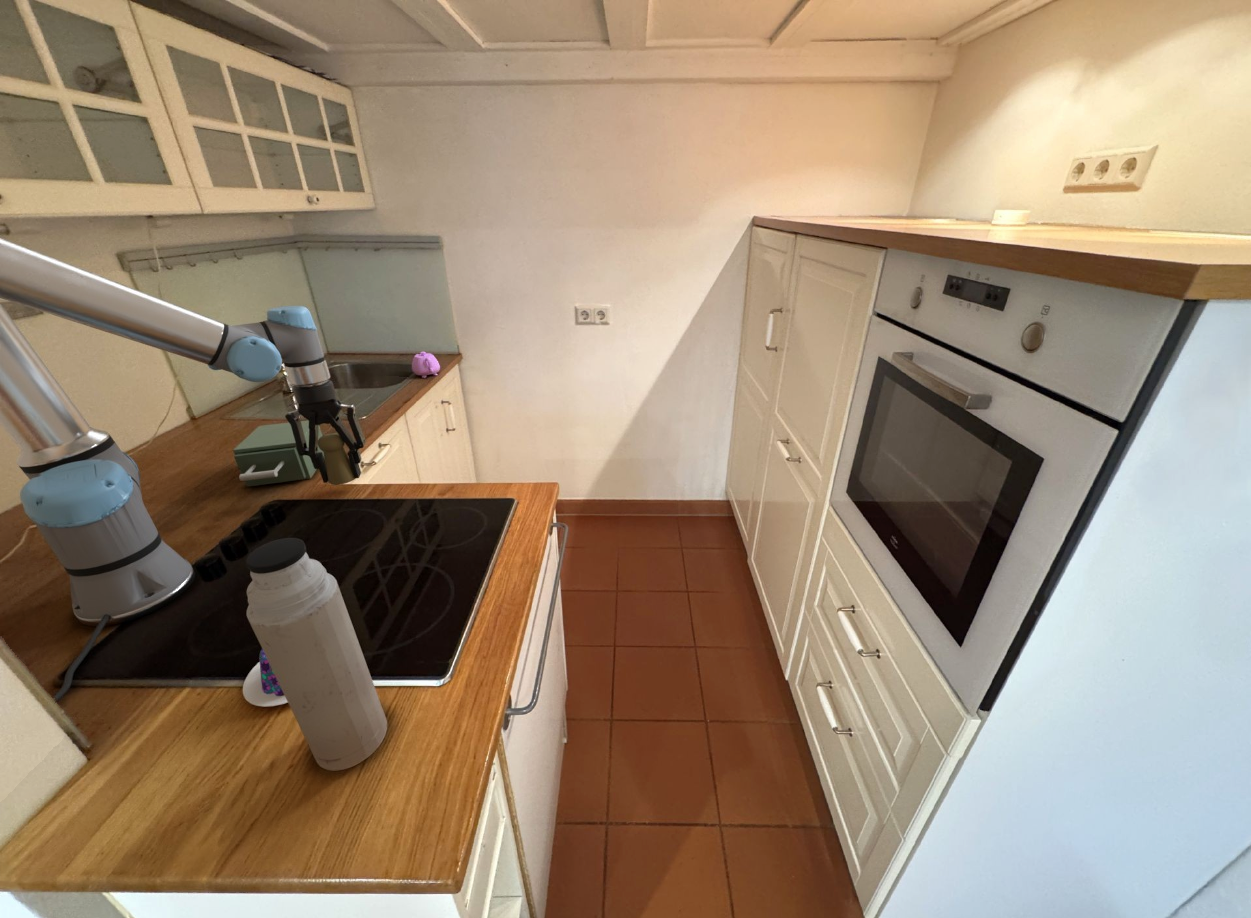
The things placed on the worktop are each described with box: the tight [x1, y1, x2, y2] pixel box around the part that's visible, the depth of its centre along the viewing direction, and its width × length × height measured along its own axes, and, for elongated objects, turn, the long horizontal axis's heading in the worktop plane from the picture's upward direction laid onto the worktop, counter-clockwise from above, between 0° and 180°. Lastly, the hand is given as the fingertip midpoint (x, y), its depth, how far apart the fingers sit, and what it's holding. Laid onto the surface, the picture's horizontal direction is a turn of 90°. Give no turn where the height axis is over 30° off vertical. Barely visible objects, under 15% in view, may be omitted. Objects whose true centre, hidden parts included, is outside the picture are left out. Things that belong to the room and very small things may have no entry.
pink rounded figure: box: [411, 351, 441, 379], centre depth 202 cm, size 10×15×9 cm
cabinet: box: [232, 420, 324, 487], centre depth 127 cm, size 16×14×10 cm
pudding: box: [242, 648, 288, 707], centre depth 69 cm, size 12×12×5 cm
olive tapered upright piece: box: [318, 432, 356, 486], centre depth 114 cm, size 6×6×11 cm
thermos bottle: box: [245, 537, 388, 772], centre depth 54 cm, size 8×8×28 cm
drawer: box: [234, 446, 306, 487], centre depth 122 cm, size 21×13×8 cm, turn 14°
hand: (342, 477), depth 116 cm, fingers closed on olive tapered upright piece, 6 cm apart
